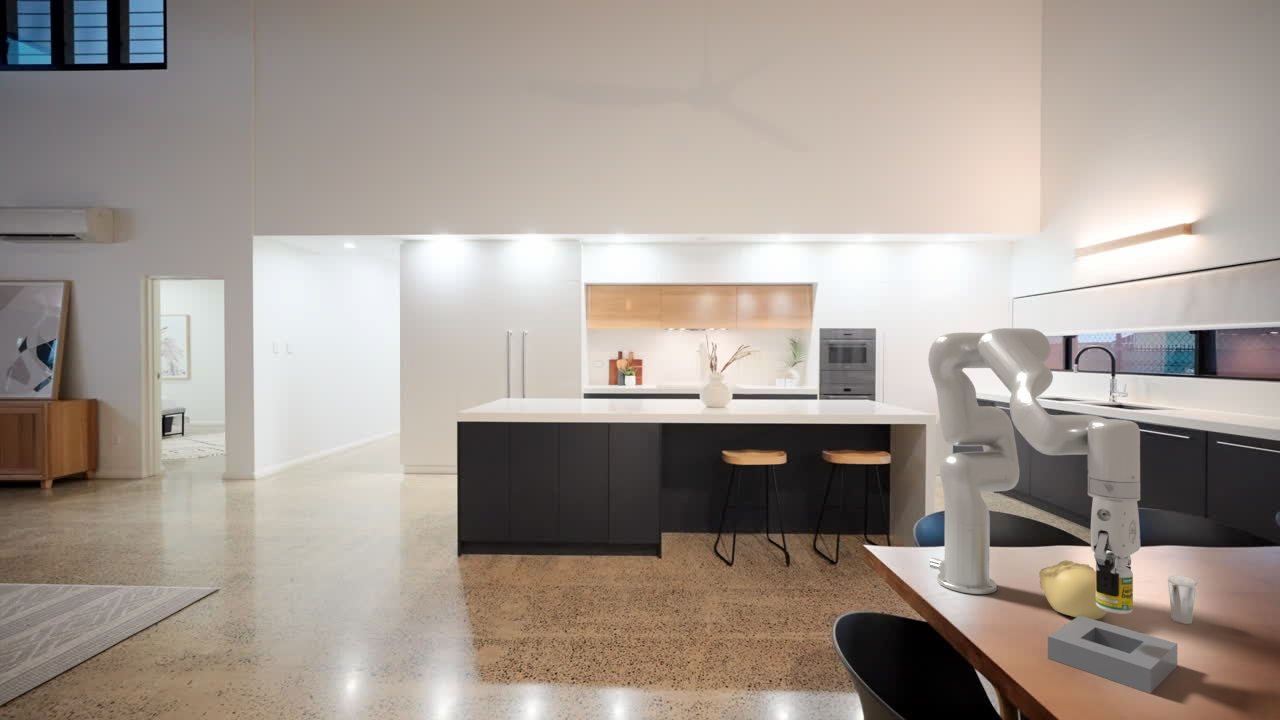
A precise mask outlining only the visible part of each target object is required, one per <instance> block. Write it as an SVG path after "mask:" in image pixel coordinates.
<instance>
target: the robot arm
mask: <svg viewBox="0 0 1280 720" xmlns="http://www.w3.org/2000/svg"><path fill="white" fill-rule="evenodd" d="M1050 356H1051V343H1050V341H1049V339H1048V337H1047V336H1046V335H1045V334H1044V333H1042V332H1041V331H1039V330H1037V329H1035V328H1013V327H1011V328H1005V327H1004V328H1003V327H1002V328H997V329H996V328H994V329H992V330H989V331H986V332H952V333H947V334H943V335H941V336H939V337H937V338H936V339H934V341H933V342H932V344H931V347H930V348H929V352H928V357H927V358H928V367H929V371H930V375H931V378H932V381H933V383H934V386H935V389H936V396H937V405H938V412H939V413H938V414H939V420H940V421H939V422H940V429H941V432H942V433H941V434H942V436H943V439H944V441H945V442H946V443H947V444H949V445H952V446H954V447H981V446H982V449H983V451H962V452H961V451H960V452H955V453H950V454H949V455H947V456H946V457H944V458H943V459H942V461H941V464H940V466H939V473H940V480H941V483H942V484H941V485H942V490H943V499H944V559H943V560H941V559H939V558H935V557H931V558H930V559H929V568H930V569H934V570H938V571H939V574H937V576H936V578H937V583H939V584H940V585H941V586H942V587H945V589H946V588H947V589H949V590H951V591H956V592H959V593H965V594H970V595H988V594H992V593H995V592H996V591H997V588H998V587H997V584H998V583H997V582H996V581H994V580H993V579H991V578H990V553H991V552H990V546H991V545H990V542H991V540H990V538H991V537H990V530H991V529H990V525H991V523H990V521H991V519H990V518H991V517H990V510H989V508H988V506H987V503H986V502H985V500H984V499H983V497H982V495H981V494H983V493H992V492H1006V491H1009V490H1013V489H1014V488H1015V487H1016V486H1017V484H1018V482H1019V480H1020V479H1019V478H1020V465H1019V456H1018V449H1017V443H1016V436H1015V431H1014V427H1015V428H1016V430H1018V432H1019V433H1020V435H1021V436H1022V437H1023V438H1024V439H1025V440H1026V441H1027V443H1028V444H1029V445H1030V447H1032V448H1034V450H1035V451H1038V452H1039V453H1041V454H1044V455H1046V456H1069V455H1071V456H1072V455H1075V456H1076V455H1077V456H1079V455H1087V495H1088V497H1091V498H1092V503H1091V513H1090V515H1091V516H1090V548H1091V551H1093V553H1094V554H1093V556H1094V557H1093V558H1094V560H1095V572H1096V591H1097V592H1098V593H1102V594H1106V595H1110V596H1114V597H1117V596H1119V574H1118V573H1116V572H1117V563H1118V556H1119V558H1122V559H1124V558H1126V557H1128V565H1127V566H1126V567H1127V568H1129V569H1130V570H1131V571H1132V566H1131V565H1132V558H1131V555H1133V554H1135V553H1136V552H1138V551H1139V550H1140V549H1141V531H1140V530H1141V529H1140V528H1141V527H1140V515H1139V505H1138V501H1139V502H1140V501H1141V448H1140V447H1141V431H1140V427H1139V425H1138V423H1136V422H1135V421H1131V420H1128V419H1127V420H1126V419H1117V418H1115V419H1114V418H1105V417H1102V416H1097V415H1095V414H1094V415H1092V414H1054V415H1053V414H1052V415H1051V414H1050V413H1048V412H1047V411H1046V409H1045V408H1044V407H1043V406H1042V405H1041V404H1040V402H1039V401H1038V400H1037V399H1036V398H1037V397H1039V396H1041V395H1042V394H1043V393H1044V392H1046V391H1047V390H1048V388H1049V387H1050V386H1051V385H1052V383H1053V379H1054V376H1053V372H1052V371H1051V369H1050V368H1049V367H1048V366H1047V365H1046V364H1045V362H1047V360H1048V359H1049V357H1050ZM964 369H990V370H991V371H992V372H993V373H994V374H995V375H996V376H997V378H998V380H1000V381H1001V383H1002V384H1003V385H1004V386H1005V387H1006V388H1007V390H1008V391H1009V392H1010V393H1011V395H1010V398H1009V412H1010V416H1011V417H1009V415H1008V414H1007V413H1006V411H1004V410H1003V409H1001V408H999V407H997V406H992V405H991V406H989V405H987V406H985V405H984V406H979V402H978V400H977V391H976V388H975V385H974V383H973V382H972V380H971V379H970V377H969V375H968V374H966V373H965V372H964V371H963V370H964ZM1010 418H1011V419H1010ZM1013 425H1014V427H1013ZM1106 552H1113V553H1114V555H1111V554H1106ZM1106 558H1111V559H1112V563H1110V561H1109V560H1107V559H1106Z"/></svg>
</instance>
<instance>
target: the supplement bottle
mask: <svg viewBox="0 0 1280 720" xmlns="http://www.w3.org/2000/svg"><path fill="white" fill-rule="evenodd" d="M1106 554H1111V555H1114V553H1113V552H1110V551H1107V552H1106ZM1106 559H1107V560H1109V561H1110V563H1112V559H1111V558H1106ZM1126 566H1128V557H1126V558H1124V559H1122V558H1119V556H1118V563H1117V572H1116V573H1118V574H1119V596H1117V597H1114V596H1110V595H1106V594H1102V593H1098V592H1097V591H1096V605H1097V606H1098V607H1099V608H1101V609H1102V610H1105V611H1108V612H1107V613H1113V614H1119V615H1126V614H1127V615H1128V614H1131V613H1132V612H1133V611H1134V585H1133V584H1134V574H1133V572H1132V569H1131V570H1130V569H1129V568H1127V567H1126Z"/></svg>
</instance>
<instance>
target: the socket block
mask: <svg viewBox="0 0 1280 720" xmlns="http://www.w3.org/2000/svg"><path fill="white" fill-rule="evenodd" d="M1047 659H1050V660H1052V661H1055V662H1058V663H1060V664H1064V665H1066V666H1069V667H1073V668H1074V669H1078V670H1082V671H1083V672H1087V673H1090V674H1092V675H1095V676H1098V677H1101V678H1105V679H1106V680H1110V681H1112V682H1114V683H1115V682H1116V683H1118V684H1120V685H1124V686H1127V687H1131V688H1133V689H1136V690H1139V691H1141V692H1144V693H1147V694H1149V695H1150V694H1152V693H1153V691H1155V690H1156V688H1157V687H1158V686H1159V685H1160V684H1161V683H1163V682H1164V680H1165V679H1166V678H1167V677H1168V676H1170V674H1171V673H1172V672H1173V671H1174V670H1175V669H1176V668H1177V667H1178V642H1174V641H1170V640H1166V639H1163V638H1159V637H1156V636H1153V635H1149V634H1146V633H1142V632H1139V631H1136V630H1135V631H1134V630H1132V629H1129V628H1124V627H1121V626H1118V625H1114V624H1111V623H1107V622H1104V621H1100V620H1098V619H1096V620H1094V619H1091V618H1087V617H1084V616H1078V617H1074V618H1073V619H1072V620H1071V621H1069V622H1067V623H1066V624H1064V625H1063V626H1061V627H1060V628H1058V629H1057V630H1055V631H1054V632H1052V633H1051V634H1049V635H1048V636H1047Z"/></svg>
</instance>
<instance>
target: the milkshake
mask: <svg viewBox="0 0 1280 720" xmlns="http://www.w3.org/2000/svg"><path fill="white" fill-rule="evenodd" d="M1201 579H1202V576H1201V577H1199V578H1198V580H1197V582H1196V580H1194V579H1192V578H1190V577H1187V576H1183V575H1177V574H1174V575H1170V576H1168V578H1167V585H1168V592H1169V601H1170V603H1169V604H1170V617H1171V620H1173V621H1174V622H1177V623H1180V624H1185V625H1189V624H1193V616H1194V605H1195V598H1196V594H1197V587H1198V583H1199V582H1200V580H1201Z"/></svg>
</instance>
